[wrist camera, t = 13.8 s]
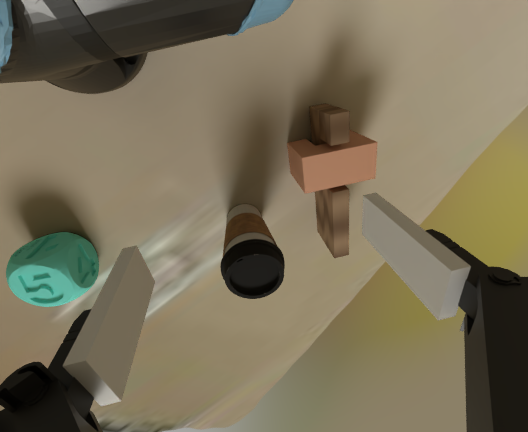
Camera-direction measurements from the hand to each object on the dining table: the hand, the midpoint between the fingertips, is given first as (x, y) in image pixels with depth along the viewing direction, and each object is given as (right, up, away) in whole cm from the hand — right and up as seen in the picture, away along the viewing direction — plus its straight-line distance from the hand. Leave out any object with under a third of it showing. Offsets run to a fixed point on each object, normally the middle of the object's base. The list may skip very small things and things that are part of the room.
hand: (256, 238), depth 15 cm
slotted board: (+10, +8, +28) cm, 31 cm away
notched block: (+9, +11, +26) cm, 30 cm away
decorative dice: (-31, -4, +28) cm, 42 cm away
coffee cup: (-3, +1, +30) cm, 30 cm away
